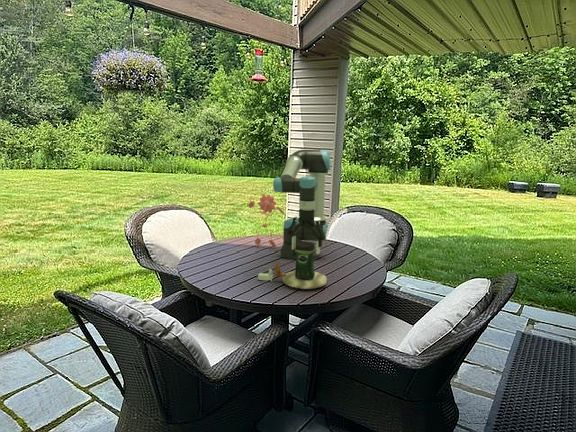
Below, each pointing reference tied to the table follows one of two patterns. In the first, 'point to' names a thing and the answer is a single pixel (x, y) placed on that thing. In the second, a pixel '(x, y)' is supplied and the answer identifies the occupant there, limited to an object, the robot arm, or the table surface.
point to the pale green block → (266, 276)
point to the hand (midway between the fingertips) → (305, 251)
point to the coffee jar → (304, 260)
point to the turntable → (292, 281)
